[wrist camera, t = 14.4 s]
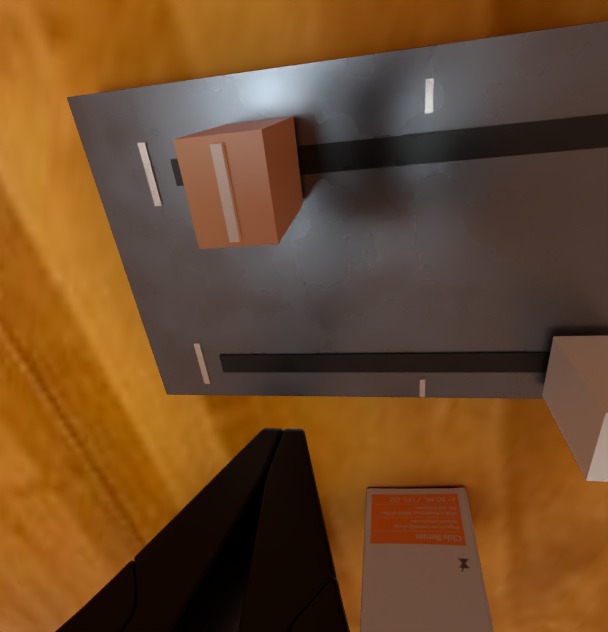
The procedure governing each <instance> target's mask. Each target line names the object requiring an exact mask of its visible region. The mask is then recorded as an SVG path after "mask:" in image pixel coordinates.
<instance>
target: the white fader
mask: <svg viewBox="0 0 608 632" xmlns="http://www.w3.org/2000/svg"><path fill="white" fill-rule="evenodd" d="M542 396H543V398H544V400H545V402H546V404H547V406H548V408H549V410H550V412H551V414H552V416H553V418H554V420H555V421H556V423H557V425H558V427H559V429H560V431H561V433H562V435H563V437H564V439H565V441H566V443H567V445H568V447H569V449H570V450H571V452H572V454H573V456H574V458H575V460H576V462H577V464H578V466H579V468H580V470H581V472H582V474H583V476H584V478H585V479H586V481H605V482H608V336H553V342H552V347H551V352H550V357H549V362H548V368H547V373H546V378H545V383H544V388H543V393H542Z"/></svg>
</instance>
